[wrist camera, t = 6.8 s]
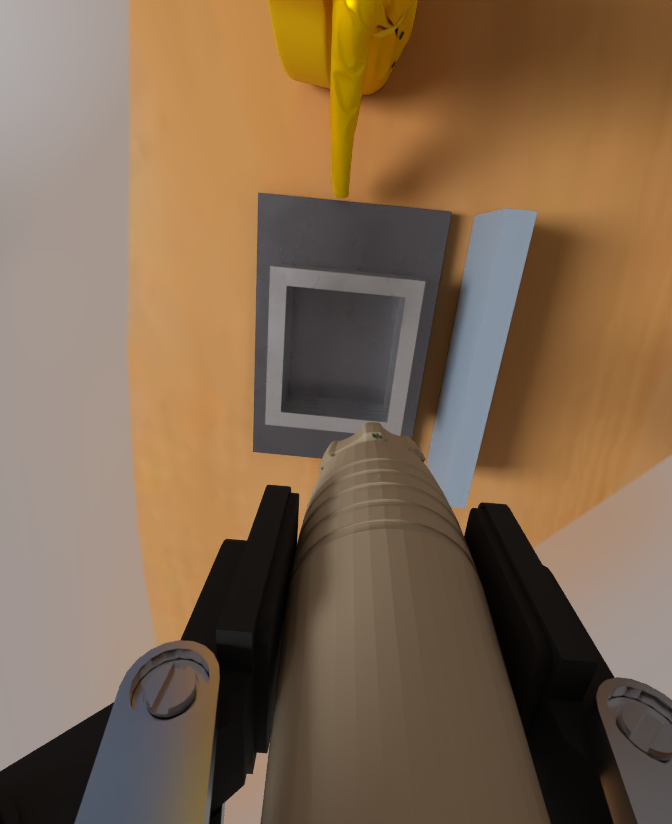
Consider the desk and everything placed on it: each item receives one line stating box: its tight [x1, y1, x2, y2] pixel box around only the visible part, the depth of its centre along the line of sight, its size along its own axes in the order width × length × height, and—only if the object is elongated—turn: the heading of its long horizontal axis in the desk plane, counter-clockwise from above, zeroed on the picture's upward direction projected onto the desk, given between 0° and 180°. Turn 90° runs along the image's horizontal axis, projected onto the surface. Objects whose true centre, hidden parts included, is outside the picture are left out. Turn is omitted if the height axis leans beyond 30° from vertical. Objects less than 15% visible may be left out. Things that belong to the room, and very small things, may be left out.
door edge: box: [427, 208, 538, 508], centre depth 28 cm, size 18×2×6 cm, turn 175°
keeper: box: [253, 193, 451, 458], centre depth 28 cm, size 18×12×4 cm, turn 175°
